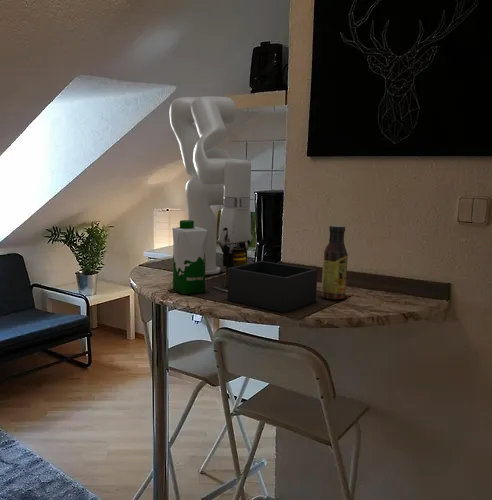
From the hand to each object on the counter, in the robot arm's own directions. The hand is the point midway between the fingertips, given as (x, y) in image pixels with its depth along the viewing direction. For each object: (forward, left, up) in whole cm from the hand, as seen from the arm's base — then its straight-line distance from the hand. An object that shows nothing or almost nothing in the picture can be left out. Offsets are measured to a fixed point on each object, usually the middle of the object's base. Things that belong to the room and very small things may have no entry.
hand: (234, 264), depth 169 cm
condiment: (0, -1, -7) cm, 7 cm away
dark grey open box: (+16, -5, -7) cm, 18 cm away
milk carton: (-7, -12, -7) cm, 16 cm away
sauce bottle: (+26, +10, -7) cm, 29 cm away
